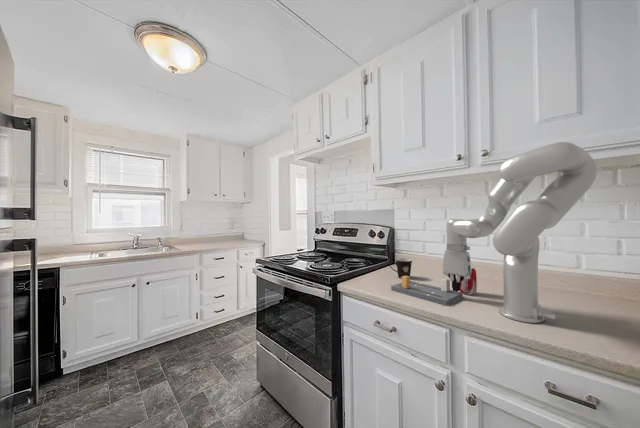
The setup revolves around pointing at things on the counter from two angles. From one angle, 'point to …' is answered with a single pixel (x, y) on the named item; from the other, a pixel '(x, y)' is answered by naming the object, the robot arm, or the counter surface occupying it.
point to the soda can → (469, 284)
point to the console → (429, 293)
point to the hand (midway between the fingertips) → (456, 290)
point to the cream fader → (445, 284)
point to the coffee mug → (403, 267)
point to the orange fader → (405, 281)
